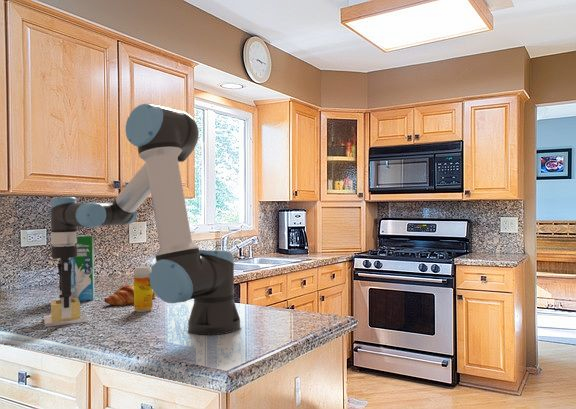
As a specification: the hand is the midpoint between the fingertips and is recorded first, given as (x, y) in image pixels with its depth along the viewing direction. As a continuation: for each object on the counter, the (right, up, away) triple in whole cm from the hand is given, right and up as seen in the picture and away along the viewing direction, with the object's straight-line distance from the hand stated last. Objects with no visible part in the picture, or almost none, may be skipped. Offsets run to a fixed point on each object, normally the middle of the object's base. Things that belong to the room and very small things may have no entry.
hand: (65, 314), depth 153 cm
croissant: (+12, -2, +28) cm, 30 cm away
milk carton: (-10, -2, +35) cm, 36 cm away
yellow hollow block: (0, -1, 0) cm, 1 cm away
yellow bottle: (+21, -2, +13) cm, 25 cm away
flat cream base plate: (0, -2, 0) cm, 2 cm away
